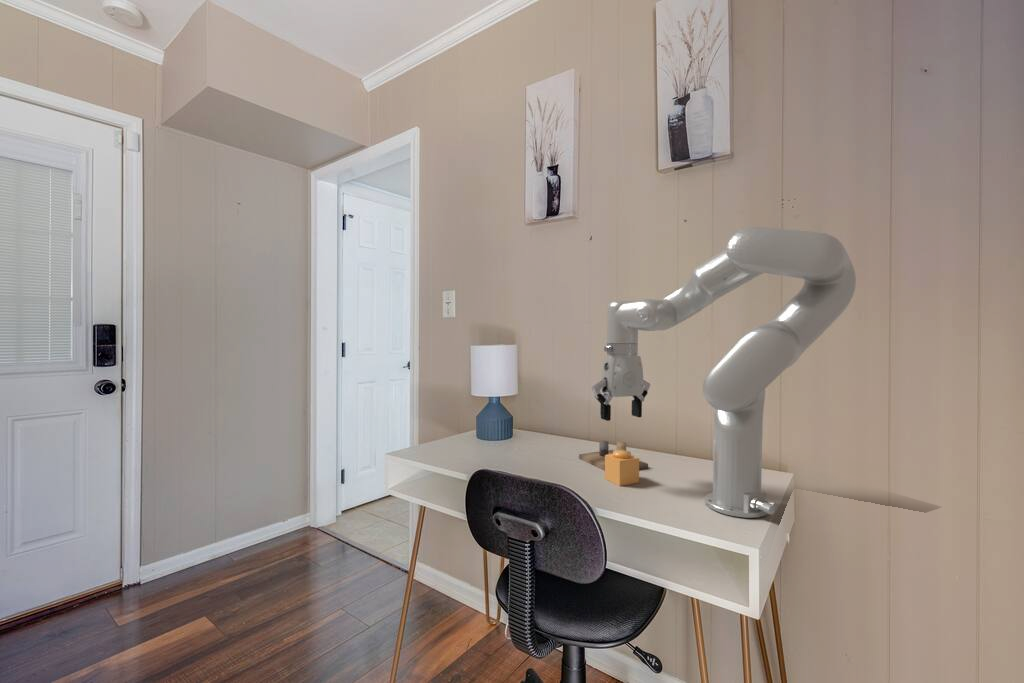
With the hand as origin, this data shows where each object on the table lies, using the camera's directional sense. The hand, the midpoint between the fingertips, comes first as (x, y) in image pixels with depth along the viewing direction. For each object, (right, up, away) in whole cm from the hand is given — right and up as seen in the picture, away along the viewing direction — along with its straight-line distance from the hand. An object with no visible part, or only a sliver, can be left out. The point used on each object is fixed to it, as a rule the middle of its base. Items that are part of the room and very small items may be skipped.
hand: (621, 418), depth 118 cm
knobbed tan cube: (0, -16, 0) cm, 16 cm away
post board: (+1, -15, +15) cm, 22 cm away
